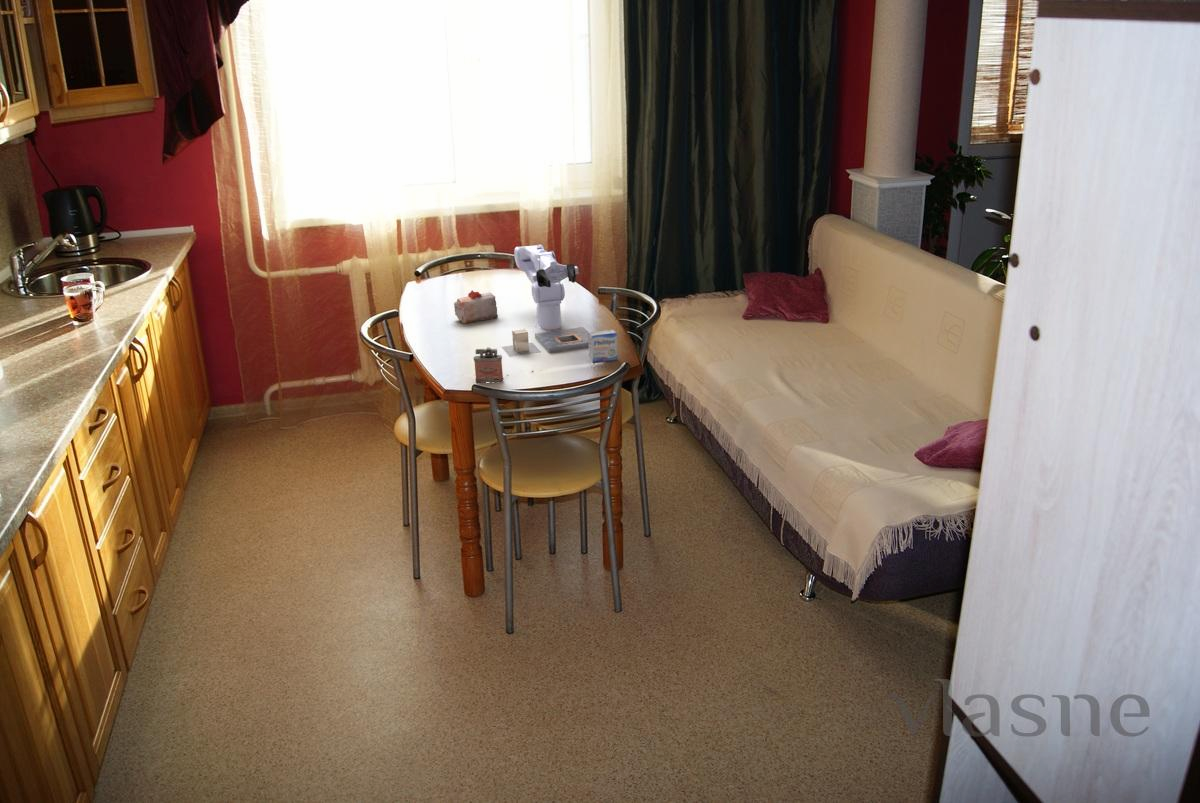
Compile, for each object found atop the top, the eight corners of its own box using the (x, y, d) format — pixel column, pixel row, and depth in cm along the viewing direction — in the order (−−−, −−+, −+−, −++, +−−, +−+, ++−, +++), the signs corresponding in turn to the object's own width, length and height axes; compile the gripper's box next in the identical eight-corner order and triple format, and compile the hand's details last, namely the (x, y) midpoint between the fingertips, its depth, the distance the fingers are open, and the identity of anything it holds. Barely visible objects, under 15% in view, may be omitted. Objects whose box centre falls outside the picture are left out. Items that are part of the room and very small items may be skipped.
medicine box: (592, 363, 302) (591, 335, 298) (588, 359, 306) (587, 331, 302) (618, 360, 304) (617, 332, 300) (613, 355, 308) (612, 328, 304)
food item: (462, 325, 342) (459, 297, 338) (454, 319, 349) (451, 292, 345) (499, 318, 348) (497, 291, 344) (490, 313, 354) (488, 285, 351)
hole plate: (535, 340, 323) (534, 333, 323) (582, 334, 328) (582, 326, 327) (549, 356, 309) (548, 347, 308) (598, 348, 314) (598, 340, 313)
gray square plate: (501, 349, 316) (501, 346, 316) (532, 345, 319) (532, 342, 319) (509, 359, 308) (509, 356, 307) (541, 354, 311) (541, 351, 310)
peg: (513, 348, 314) (512, 329, 312) (525, 346, 315) (524, 328, 313) (516, 352, 311) (515, 333, 309) (529, 350, 312) (527, 331, 310)
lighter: (504, 378, 292) (501, 345, 289) (503, 382, 289) (500, 349, 285) (476, 380, 292) (473, 347, 288) (475, 384, 289) (472, 351, 285)
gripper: (527, 261, 318) (536, 273, 306) (571, 253, 321) (582, 264, 309) (530, 282, 321) (539, 295, 309) (574, 274, 324) (585, 286, 312)
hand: (561, 281), depth 309 cm, fingers open, 7 cm apart
